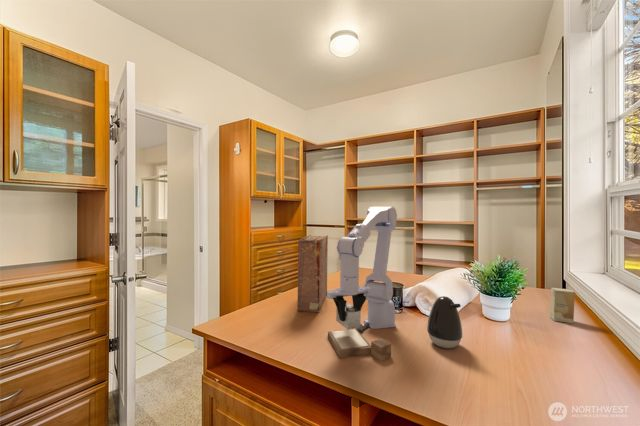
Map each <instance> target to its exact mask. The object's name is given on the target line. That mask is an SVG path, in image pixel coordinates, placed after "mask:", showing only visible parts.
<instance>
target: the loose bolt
mask: <svg viewBox="0 0 640 426" xmlns="http://www.w3.org/2000/svg"><path fill="white" fill-rule="evenodd" d="M369 327H370V326H369V323H368V322H364V323H360V328H355V329H357V330H358V331H359V333H361V332H362V331H364V330H365V329H367V328H369Z"/></svg>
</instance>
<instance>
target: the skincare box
mask: <svg viewBox="0 0 640 426" xmlns="http://www.w3.org/2000/svg"><path fill="white" fill-rule="evenodd" d="M575 295H576V293H575V291H573V290H572V289H567V288H560V287H559V288H558V287H550V301H549V303H550V305H549V318H550V319H551V320H553V321H554V322H560V323H561V322H562V323H568V324H574V321H575V319H574V314H575Z"/></svg>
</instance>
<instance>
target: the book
mask: <svg viewBox="0 0 640 426" xmlns="http://www.w3.org/2000/svg"><path fill="white" fill-rule="evenodd" d="M328 238H329V236H328V235H325V236H324V235H323V236H320V235H319V236H318V235H311V234H308V235H306V236H304V237H302V238H300V239H298V241H297V242H298V247H297V248H298V249H297V250H298V251H297V252H298V253H297V255H298V256H297V260H298V261H297V312H306V313H320V312H321V310H322V307H323V305H324V302H325V300H326V298H327V291H328V252H329V251H328V245H329V243H328V242H329V241H328V240H329V239H328Z"/></svg>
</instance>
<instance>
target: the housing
mask: <svg viewBox="0 0 640 426" xmlns="http://www.w3.org/2000/svg"><path fill="white" fill-rule="evenodd" d="M361 311H362V310H361ZM361 311H360V310H358V309H356V308H355V307H353V304H352V305H351V304H350V303H346V306H345V320H344V321H341V320H340V319H339V314H338V310H337V309H336V314H335V315H336V322H338V323H339V324H340V325H341V327H344V328H345V330H350V329H356V328H360V324H361V317H362V315H361Z"/></svg>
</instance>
